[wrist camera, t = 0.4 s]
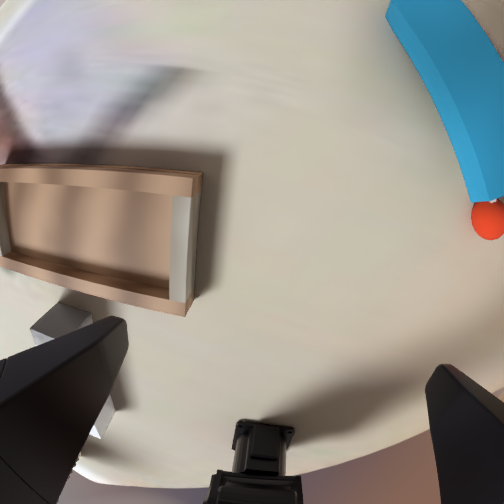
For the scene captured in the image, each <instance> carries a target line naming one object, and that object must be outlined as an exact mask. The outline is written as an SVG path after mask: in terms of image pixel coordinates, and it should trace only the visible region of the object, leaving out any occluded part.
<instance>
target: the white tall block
mask: <svg viewBox="0 0 504 504" xmlns="http://www.w3.org/2000/svg"><path fill="white" fill-rule="evenodd" d="M92 323H93V320H92V315H91V313H89V312H86V311H83V310H80V309H76V308H73V307H70V306H67V305H64V304H61V303H57V304H55V305H54V306H53V307H52V308H51V309H50V310H49V311H48V312H47V313H46V314H44V315H43V316H42V317H41V318H40V319H39V320H38V321H37V322H36V323H35V324H34V325H33V326H32V327H31V328H30V330H31V333H32V336H33V339H34V342H35V345H36V346H38V345H40V344H43V343H45V342H48V341H50V340H52V339H55V338H57V337H60V336H62V335H65V334H67V333H70V332H72V331H75V330H77V329H80V328H82V327H85V326H87V325H90V324H92ZM115 412H116V411H115V408H114V405H113V402H112V398H111V395H109V397H108V399H107V401H106V403H105V404H104V406H103V408H102V410H101V412H100V414H99V416H98V418H97V420H96V422H95V424H94V426H93V428H92V429H91V431H90V433H89V434H90V435H92V436H95V437H97V438H99V439H102V437H103V435H104V433H105V431H106V429H107V427H108V425H109V423H110V421H111V419H112V417H113V415H114V414H115Z"/></svg>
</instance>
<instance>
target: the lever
mask: <svg viewBox="0 0 504 504" xmlns="http://www.w3.org/2000/svg"><path fill="white" fill-rule="evenodd" d="M386 19H387V20H388V22H389V24H390V26H391V28H392V30H393V32H394V33H395V35H396V36H397V38H398V39H399V41H400V42H401V44H402V46H403V47H404V49H405V50H406V52H407V54H408V55H409V57H410V59H411V60H412V62H413V64H414V65H415V67H416V69H417V71H418V72H419V74H420V76H421V78H422V80H423V82H424V84H425V86H426V87H427V89H428V91H429V93H430V95H431V97H432V99H433V101H434V104H435V106H436V108H437V110H438V112H439V114H440V117H441V119H442V121H443V123H444V126H445V128H446V131H447V133H448V135H449V138H450V140H451V143H452V146H453V148H454V151H455V154H456V156H457V159H458V162H459V165H460V168H461V171H462V174H463V177H464V180H465V184H466V187H467V190H468V194H469V197H470V201H471V202H476V203H475V205H474V207H473V210H472V215H471V219H472V225H473V227H474V229H475V231H476V232H477V234H478V235H479V236H481V237H482V238H484V239H487V240H494V239H498V238H499V237H501V236H502V235H503V234H504V204H503V203H502V202H501V201H500V200H499V199H497V198H500V197H502V196H504V63H503V61H502V59H501V58H500V56H499V54H498V52H497V51H496V49H495V47H494V46H493V44H492V43H491V41H490V40H489V38H488V36H487V35H486V33H485V32H484V30H483V29H482V28H481V26H480V25H479V23H478V22H477V20H476V19H475V18H474V16H473V15H472V14H471V12H470V11H469V10H468V8H467V7H466V6H465V4H464V3H463V2H462V1H461V0H391V1H390V4H389V7H388V10H387V13H386Z"/></svg>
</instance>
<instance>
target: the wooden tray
mask: <svg viewBox="0 0 504 504" xmlns="http://www.w3.org/2000/svg"><path fill="white" fill-rule="evenodd" d="M202 178H203V173H200V172H191V171H181V170H170V169H159V168H146V167H132V166H116V165H95V164H54V163H34V164H3V165H0V266H1V267H4V268H7V269H10V270H13V271H15V272H18V273H21V274H24V275H27V276H30V277H33V278H36V279H40V280H43V281H46V282H49V283H52V284H56V285H59V286H62V287H66V288H69V289H73V290H76V291H80V292H83V293H87V294H90V295H94V296H98V297H102V298H105V299H109V300H113V301H117V302H121V303H125V304H129V305H133V306H137V307H142V308H146V309H150V310H155V311H159V312H164V313H168V314H173V315H178V316H183V317H185V316H186V314H187V312H188V310H189V308H190V307H191V305H192V303H193V301H194V283H195V265H196V249H197V235H198V222H199V210H200V199H201V188H202Z"/></svg>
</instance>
